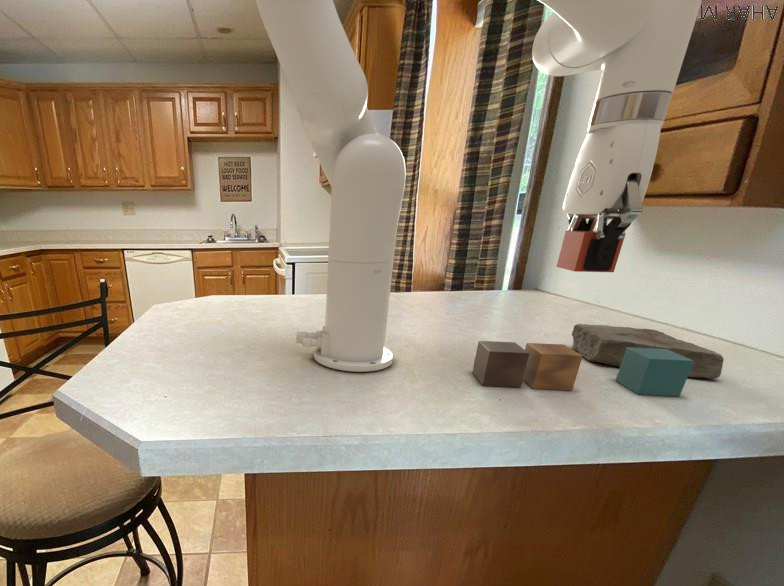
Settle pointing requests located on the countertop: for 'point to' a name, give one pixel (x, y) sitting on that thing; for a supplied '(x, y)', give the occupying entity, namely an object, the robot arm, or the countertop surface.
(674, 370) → the teal block
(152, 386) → the countertop surface
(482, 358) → the walnut block
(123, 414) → the countertop surface
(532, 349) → the oak block
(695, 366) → the grey stone slab
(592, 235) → the terracotta block
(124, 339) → the countertop surface
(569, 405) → the countertop surface
